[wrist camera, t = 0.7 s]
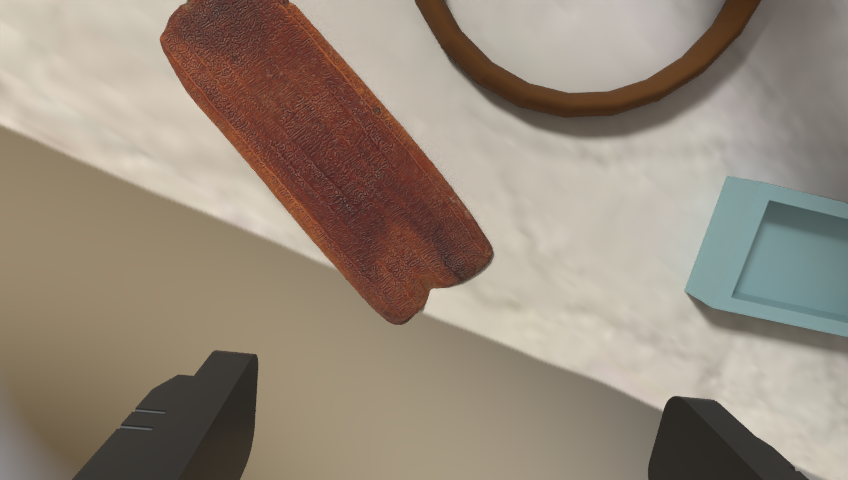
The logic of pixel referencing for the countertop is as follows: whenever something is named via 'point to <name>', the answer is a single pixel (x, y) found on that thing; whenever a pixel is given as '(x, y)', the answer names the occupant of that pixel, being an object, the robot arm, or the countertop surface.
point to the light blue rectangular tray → (776, 257)
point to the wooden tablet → (326, 150)
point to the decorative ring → (591, 103)
